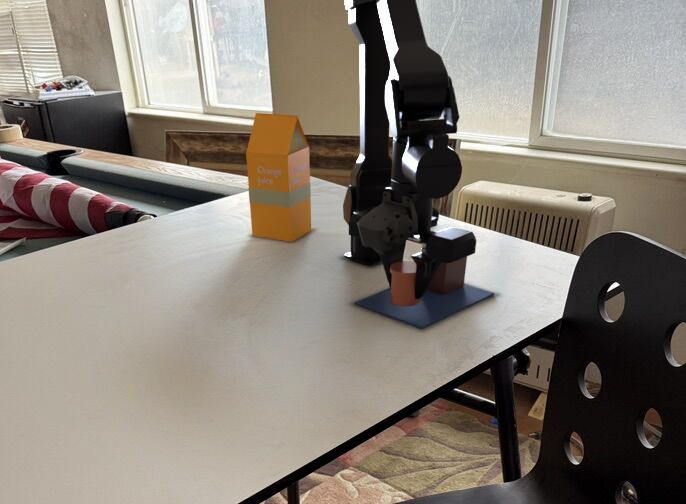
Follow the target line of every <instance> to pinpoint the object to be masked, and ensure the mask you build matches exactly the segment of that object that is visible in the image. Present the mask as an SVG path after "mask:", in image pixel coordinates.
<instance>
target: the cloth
mask: <svg viewBox="0 0 686 504" xmlns="http://www.w3.org/2000/svg"><path fill="white" fill-rule="evenodd" d="M492 296H493V297H494V296H495V292H492V291H489V290H485V289H483V288H479V287H476V286H472V285H469V284H466V283H464V287H461V288H459V289H457V290H455V291H452V292H450V293H448V294H446V295H441V294H438V293H435V292H432V291H428V290H426V291H425V293H424V295H423V296H422V298H421V301H420V303H419V304H417V305H414V306H407V307H404V306H397V305H394V304H393V303H391V301H390V300H391V290H390V287H389V288H387V289H384V290H382V291H379V292H377V293H375V294H372V295H369V296H367V297H365V298H362V299H360V300H357V301H355V302H354V305H355V306H359V307H362V308H364V309H367V310H369V311H372V312H375V313H377V314H381V315H383V316H386V317H388V318H391V319H394V320H397V321H399V322H401V323H405V324H407V325H410V326H413V327H416V328H417V329H421V330H423V329H425V328H427V327H429V326H432V325H433V324H435V323H437V322H439V321H442V320H444V319H446V318H448V317H450V316H453V315H455V314H456V313H459V312H461V311H464V310H465V309H467V308H469V307H472V306H475V304H478V303H481V302H482V301H484V300H486V299H489V298H491V297H492Z"/></svg>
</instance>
